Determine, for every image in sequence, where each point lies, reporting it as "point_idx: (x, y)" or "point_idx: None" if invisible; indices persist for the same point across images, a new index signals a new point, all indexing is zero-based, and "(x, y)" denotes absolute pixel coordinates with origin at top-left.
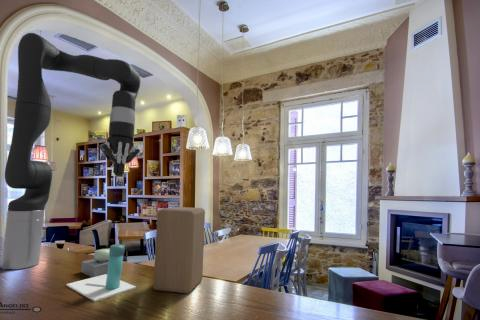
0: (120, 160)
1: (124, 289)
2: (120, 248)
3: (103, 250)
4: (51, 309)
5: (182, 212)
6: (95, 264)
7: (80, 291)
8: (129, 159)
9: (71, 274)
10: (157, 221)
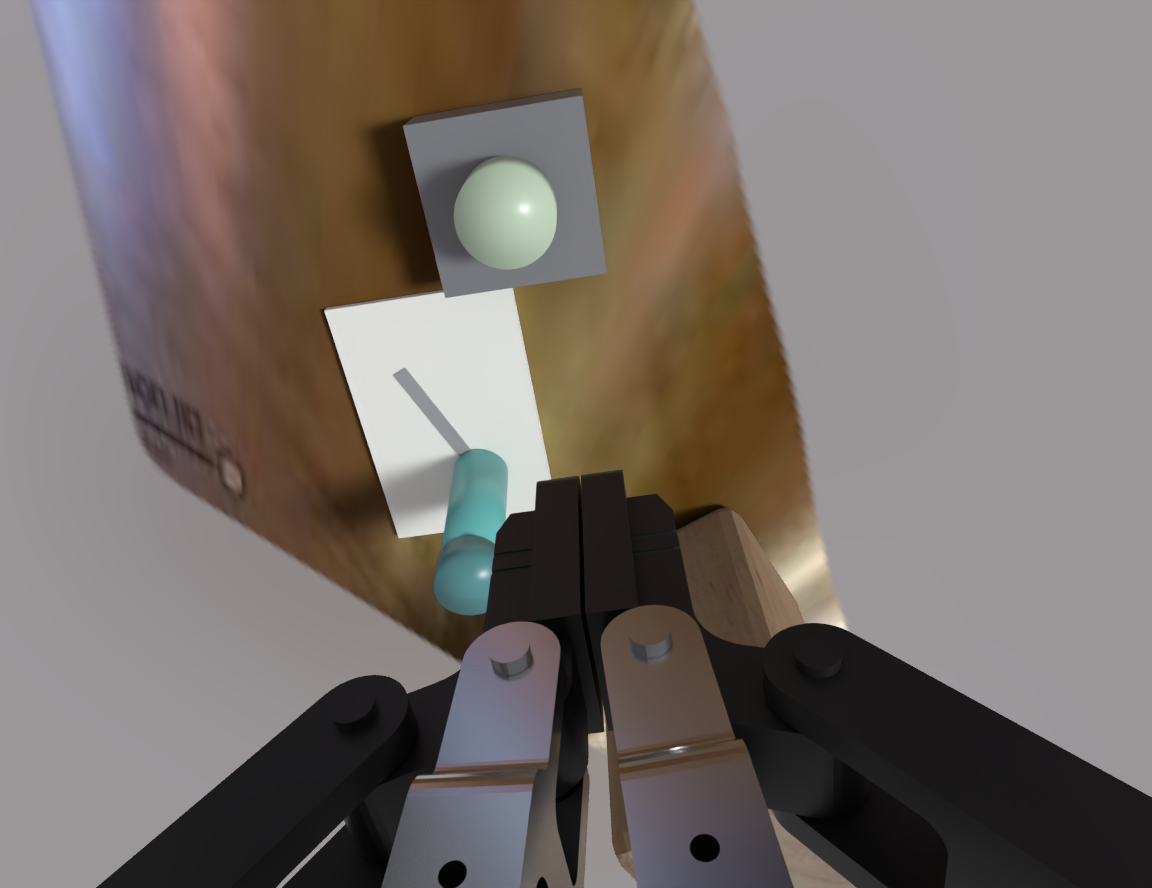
0: (581, 811)
1: None
2: (473, 611)
3: (509, 215)
4: (273, 506)
5: None
6: (458, 255)
7: (367, 435)
8: (835, 830)
9: (362, 128)
10: (610, 801)
